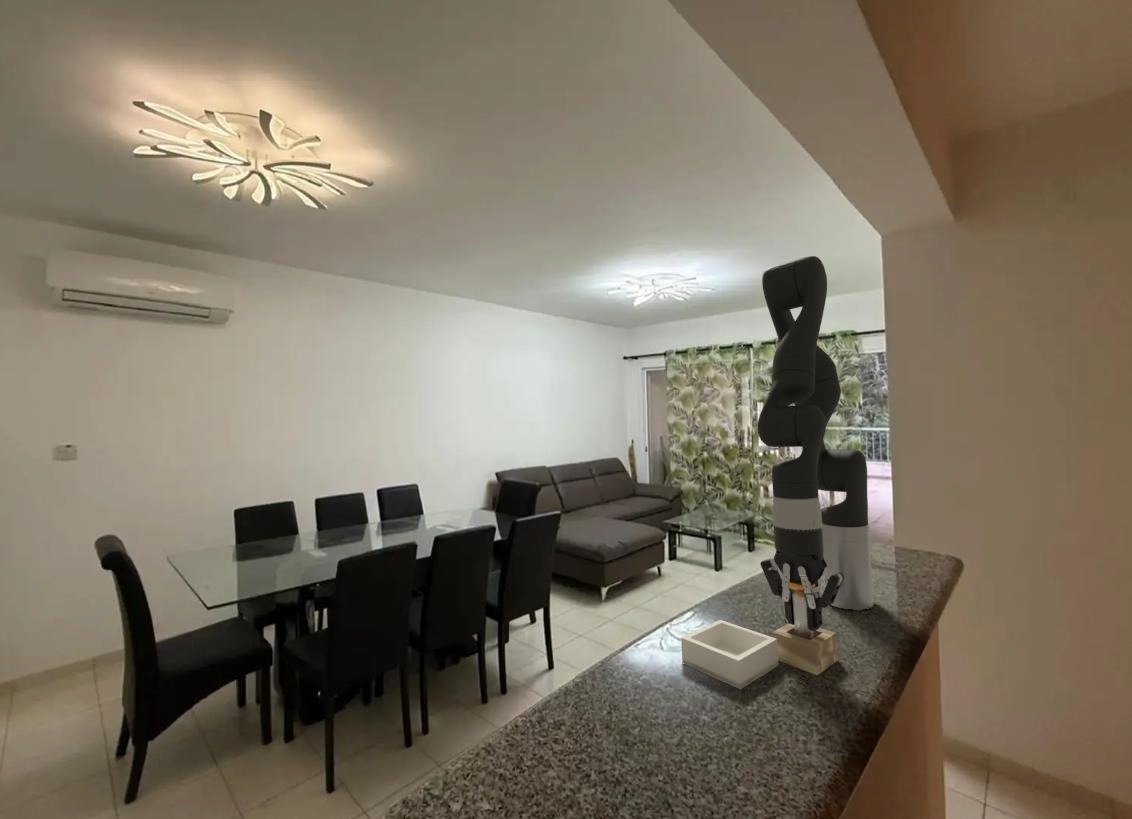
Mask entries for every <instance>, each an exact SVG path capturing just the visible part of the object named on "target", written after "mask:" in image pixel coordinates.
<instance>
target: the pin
mask: <svg viewBox="0 0 1132 819" xmlns="http://www.w3.org/2000/svg"><path fill="white" fill-rule="evenodd" d="M806 587H807V586H806ZM811 587H812V588H815V587H816V583H815V584H813V585H811ZM788 588H789V589H791V590H792V601H793V617H794V634H795V636H799V637H802V638H805V639H808V640H812V639H814V631H812V630H809V620H808V608H809V605H808V601H807V596H806V594H805V593H804V592H805V590H804V586H803V585H802V584H800V583H796V582H792V581H791V582H788Z"/></svg>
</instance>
